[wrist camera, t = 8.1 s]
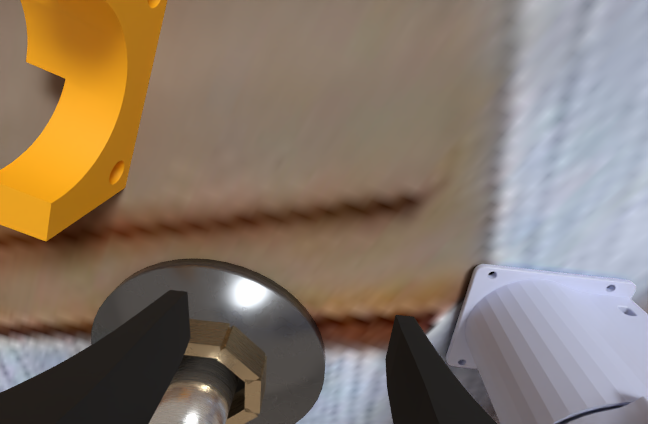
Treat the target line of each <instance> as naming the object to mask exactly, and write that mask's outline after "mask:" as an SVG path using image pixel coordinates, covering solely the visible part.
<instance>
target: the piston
mask: <svg viewBox="0 0 648 424" xmlns="http://www.w3.org/2000/svg"><path fill="white" fill-rule="evenodd" d="M238 381H239V377H238V376H237V375H236V374H234V373H233V372H232V371H231V370H230V369H228V368H227V367H226V366H225V365H224V364H222V363H221V362H220V361H219V360H218V359H216V358H207V357H198V356H189V355H184V356H183V359H182V361H181V364H180V366H179V368H178V370H177V372H176V373H175V375H174V377H173V379H172V381H171V383H170V385H169V387H168V389H167V390H166V392H165V394H164V396H163V398H162V400H161V402H160V403H159V405H158V407H157V409H156V411H155V413H154V415H153V416H152V418H151V420H150V422H149V424H225V423H226V420H227V417H228V413H229V410H230V407H231V404H232V400H233V397H234V394H235V391H236V387H237V384H238Z"/></svg>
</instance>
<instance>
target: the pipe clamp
mask: <svg viewBox="0 0 648 424" xmlns="http://www.w3.org/2000/svg"><path fill="white" fill-rule="evenodd" d="M21 3H22V6H23V10H24V14H25V19H26V25H27V35H28V47H27V58H26V62H28V63H30V64H32V65H35V66H37V67H39V68H42V69H44V70H46V71H49V72H51V73H53V74H56V75H58V76H60V77H63V78H65V84H64V87H63V91H62V94H61V97H60V100H59V102H58V105H57V107H56V109H55V111H54V113H53V115H52V117H51V119H50V121H49V122H48V124H47V126H46V127H45V129H44V130H43V132H42V133H41V134H40V136H39V137H38V138H37V139H36V141H35V142H34V143H33V144H32V145H31V146H30V147H29V148H28V149H27V150H26V151H25V152H24V153H23V154H22V155H21V156H20V157H18V158H17V159H16V160H15V161H13V162H12V163H11V164H9V165H8V166H6V167H5V168H3V169H1V170H0V225H3V226H6V227H8V228H11V229H14V230H16V231H19V232H22V233H25V234H27V235H30V236H33V237H35V238H38V239H41V240H44V241H48V240H49V239H51V238H52V237H54V236H55V235H56V234H58V233H59V232H61V231H62V230H64V229H65V228H67V227H68V226H70V225H71V224H73V223H74V222H76V221H77V220H78V219H80V218H81V217H83V216H84V215H86V214H87V213H89V212H90V211H92V210H93V209H95V208H96V207H98V206H99V205H100V204H102V203H103V202H105V201H106V200H108V199H109V198H111V197H112V196H114V195H115V194H117V193H118V192H120V191H121V190H122V189H124V188H125V186H126V182H127V177H128V173H129V168H130V164H131V159H132V155H133V151H134V146H135V142H136V137H137V133H138V128H139V124H140V119H141V115H142V110H143V106H144V102H145V97H146V93H147V88H148V84H149V79H150V75H151V70H152V66H153V61H154V57H155V53H156V48H157V44H158V39H159V35H160V30H161V26H162V21H163V17H164V13H165V8H166V4H167V0H21Z"/></svg>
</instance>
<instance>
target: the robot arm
mask: <svg viewBox="0 0 648 424" xmlns="http://www.w3.org/2000/svg"><path fill="white" fill-rule="evenodd" d="M490 272H494V274H492V275H488V274H489V273H490ZM609 285H610V287H608V286H609ZM607 287H608V288H607ZM635 291H636V285H635V284H634V283H632V282H631V281H630V280H624V279H615V278H606V277H597V276H588V275H579V274H570V273H561V272H552V271H543V270H534V269H525V268H516V267H507V266H498V265H489V264H480V265H478V266H476V267H475V269H474V271H473V274H472V277H471V280H470V283H469V286H468V290H467V293H466V296H465V299H464V302H463V305H462V308H461V311H460V314H459V318H458V321H457V324H456V327H455V330H454V333H453V336H452V339H451V342H450V345H449V349H448V352H447V355H446V361H447V363H448V365H450V366H454V367H463V368H472V369H478V371H479V373H480V376H481V378H482V381H483V383H484V386H485V388H486V390H487V393H488V395H489V398H490V400H491V403H492V405H493V408H494V410H495V412H496V415H497V417H498V420H499V422H500V424H648V314H647V313H646V312H645V311H644V310H643V309H641V308H640V307H639V306H638V305H637V304H636V303H635V302H634V301H633V300H631V298H632V296H633V294H634V293H635ZM190 338H191V335H190V321H189V306H188V292H185V291H176V290H169V291H168V292H166V293H165V294H163V295H162V296H161V297H159V298H158V299H157V300H155V301H154V302H153V303H151V304H150V305H149V306H147V307H146V308H145V309H143V310H142V311H141V312H139V313H138V314H136V315H135V316H134V317H132V318H131V319H129V320H128V321H127V322H125V323H124V324H122V325H121V326H120V327H118V328H117V329H115V330H114V331H112V332H111V333H109V334H108V335H106V336H105V337H103V338H102V339H100V340H99V341H97V342H96V343H94V344H92V345H91V346H89V347H88V348H86V349H84V350H83V351H81V352H79V353H78V354H76V355H74V356H73V357H71V358H69V359H67V360H65V361H64V362H62V363H60V364H58V365H56V366H55V367H53V368H51V369H49V370H47V371H45V372H43V373H41V374H39V375H37V376H35V377H33V378H31V379H29V380H27V381H24V382H22V383H20V384H18V385H16V386H14V387H12V388H10V389H8V390H5V391H3V392H1V393H0V424H149V422H150V420H151V418H152V416H153V415H154V413H155V411H156V409H157V407H158V405H159V403H160V402H161V400H162V398H163V396H164V394H165V392H166V390H167V389H168V387H169V385H170V383H171V381H172V379H173V377H174V375H175V373H176V372H177V370H178V368H179V366H180V364H181V361H182V359H183V356H184V354H185V351H186V348H187V346H188V343H189V340H190ZM461 359H463V360H461ZM459 360H460V361H459ZM386 376H387V389H388V395H389V401H390V407H391V413H392V418H393V424H497V423H496V422H495V421H494V420H493V419H492V418H491V417H490V416H489V415H488V414H487V413H486V412H485V411H484V410H483V409H482V407H481V406H480V405H479V404H478V403H477V402H476V401H475V400H474V399H473V398H472V396H471V395H470V394H469V393H468V392H467V391H466V389H465V388H464V387H463V386H462V384H461V383H460V382H459V381H458V380H457V378H456V377H455V376H454V374H453V373H452V372H451V370H450V369H449V368H448V366H447V365H446V364H445V362H444V361H443V360H442V358H441V357H440V355H439V354H438V353H437V351H436V350H435V348H434V347H433V345H432V344H431V342H430V341H429V339H428V338H427V336H426V335H425V333H424V332H423V330H422V329H421V327H420V326H419V324H418V323H417V321H416V320H415V318H414V317H410V316H401V315H396V316H395V320H394V325H393V329H392V333H391V338H390V342H389V346H388V351H387V355H386Z"/></svg>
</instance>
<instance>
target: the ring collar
mask: <svg viewBox="0 0 648 424" xmlns="http://www.w3.org/2000/svg"><path fill="white" fill-rule="evenodd" d="M169 290H176V291H185V292H188V306H189V321H190V335H191V338H190V340H189V343H188V346H187V348H186V351H185V354H184V355H189V356H198V357H207V358H216V359H218V360H219V361H220V362H221V363H222V364H224V365H225V366H226V367H227V368H228V369H230V370H231V371H232V372H233V373H234V374H236V375H237V376H238V377H239V381H238V384H237V387H236V391H235V394H234V397H233V400H232V404H231V407H230V410H229V413H228V417H227V420H226V423H225V424H295V423H296V422H298V421H299V420H300V419H301V418H303V417H304V416H305V415H306V414H307V413H308V412H309V410H310V409H311V408H312V407H313V405H314V404H315V402H316V401H317V399H318V397H319V395H320V392H321V390H322V386H323V382H324V373H325V350H324V344H323V340H322V337H321V334H320V332H319V330H318V327H317V325H316V323H315V321H314V320H313V318H312V317H311V316H310V314H309V313H308V311H307V310H306V309H305V308H304V306H303V305H302V304H301V303H300V302H299V301H298V300H297V299H296V298H295V297H294V296H293V295H291V294H290V293H289V292H288V291H287V290H286V289H284V288H283V287H281V286H280V285H278V284H277V283H275V282H274V281H272V280H270V279H268V278H267V277H265V276H263V275H261V274H259V273H257V272H254V271H252V270H249V269H247V268H244V267H241V266H238V265H234V264H231V263H227V262H221V261H215V260H209V259H178V260H172V261H166V262H161V263H158V264H155V265H152V266H149V267H146V268H144V269H142V270H140V271H138V272H136V273H134V274H133V275H131V276H130V277H128V278H127V279H125V280H124V281H123V282H122V283H121V284H120V285H119V286H118V287H117V288H116V289H115V290H114V291H113V292H112V293H111V294H110V295H109V296H108V297H107V299H106V300H105V301H104V303H103V304H102V306H101V307H100V308H99V310H98V312H97V315H96V317H95V319H94V323H93V327H92V335H91V344H94V343H96V342H97V341H99V340H100V339H102V338H103V337H105V336H106V335H108V334H109V333H111V332H112V331H114V330H115V329H117V328H118V327H120V326H121V325H122V324H124V323H125V322H127V321H128V320H129V319H131V318H132V317H134V316H135V315H136V314H138V313H139V312H141V311H142V310H143V309H145V308H146V307H147V306H149V305H150V304H151V303H153V302H154V301H155V300H157V299H158V298H159V297H161V296H162V295H163V294H165V293H166V292H168V291H169Z"/></svg>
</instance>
